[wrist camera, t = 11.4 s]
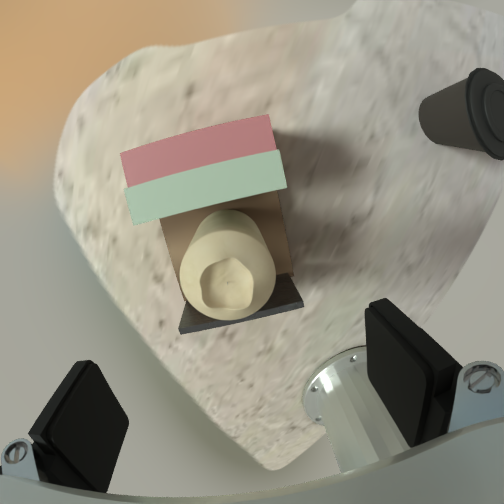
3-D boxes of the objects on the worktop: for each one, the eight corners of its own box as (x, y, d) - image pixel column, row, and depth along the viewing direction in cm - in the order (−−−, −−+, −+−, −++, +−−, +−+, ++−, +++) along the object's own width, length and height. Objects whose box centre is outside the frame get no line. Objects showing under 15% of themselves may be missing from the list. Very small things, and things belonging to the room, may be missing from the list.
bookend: (288, 277, 27) (304, 307, 21) (189, 300, 27) (180, 334, 21) (287, 272, 27) (303, 300, 21) (188, 295, 26) (178, 328, 21)
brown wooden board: (290, 270, 28) (294, 276, 27) (186, 294, 28) (184, 301, 27) (261, 129, 24) (263, 127, 23) (148, 157, 24) (144, 157, 23)
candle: (274, 245, 26) (300, 292, 16) (224, 284, 26) (222, 349, 17) (232, 194, 24) (234, 213, 15) (181, 237, 25) (154, 281, 15)
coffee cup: (455, 86, 24) (517, 73, 14) (467, 155, 26) (532, 160, 17) (400, 82, 24) (463, 58, 14) (414, 159, 26) (483, 162, 16)
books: (268, 181, 24) (287, 187, 17) (162, 207, 24) (133, 225, 17) (257, 129, 23) (270, 111, 15) (149, 156, 23) (115, 152, 15)
